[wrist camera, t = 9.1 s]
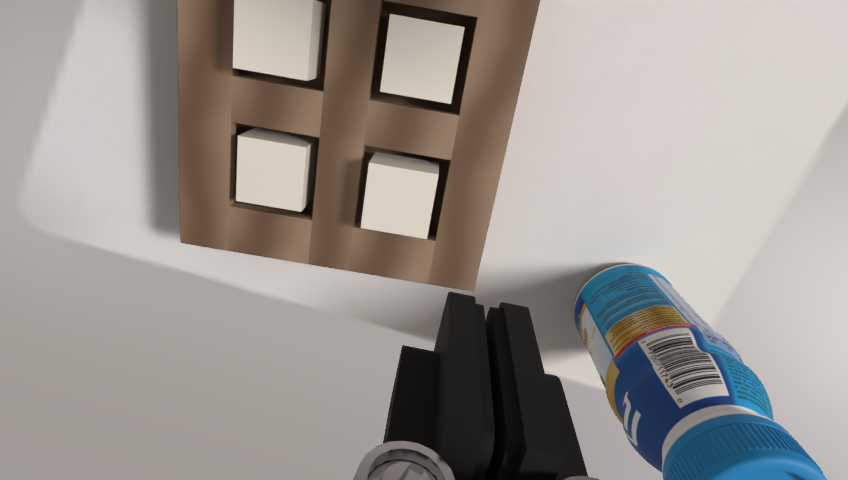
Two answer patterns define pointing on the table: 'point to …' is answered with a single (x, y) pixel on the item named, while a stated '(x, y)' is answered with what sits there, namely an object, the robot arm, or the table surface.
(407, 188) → the button
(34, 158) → the table surface
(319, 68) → the button
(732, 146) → the table surface
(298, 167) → the button
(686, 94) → the table surface
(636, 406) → the beverage bottle
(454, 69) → the button
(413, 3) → the board
